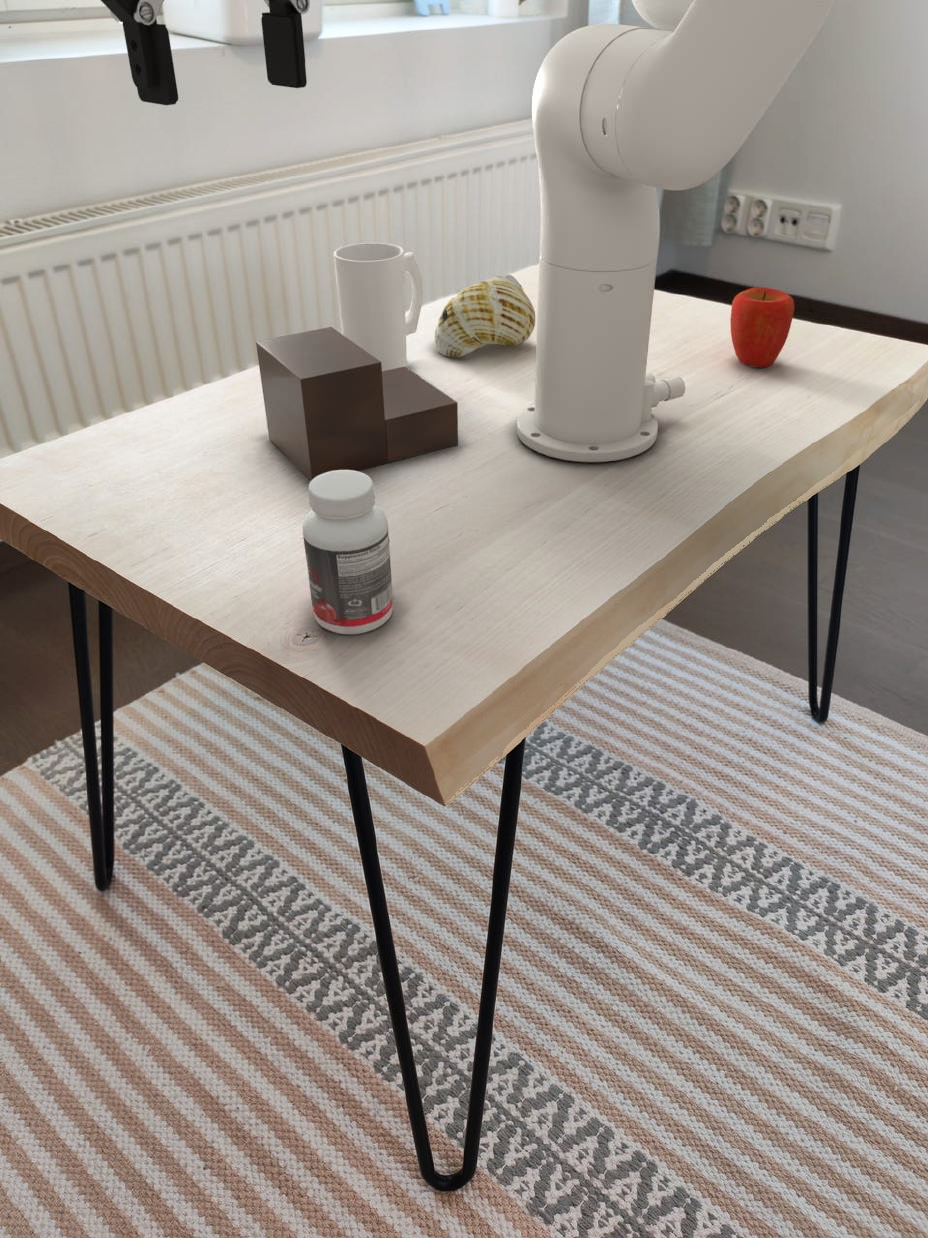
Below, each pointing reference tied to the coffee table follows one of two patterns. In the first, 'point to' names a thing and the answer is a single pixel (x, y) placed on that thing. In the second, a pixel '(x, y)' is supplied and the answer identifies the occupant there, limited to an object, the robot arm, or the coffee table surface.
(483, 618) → the coffee table surface
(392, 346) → the mug
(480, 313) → the seashell
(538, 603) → the coffee table surface
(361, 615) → the pill bottle
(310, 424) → the step shelf
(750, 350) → the apple
